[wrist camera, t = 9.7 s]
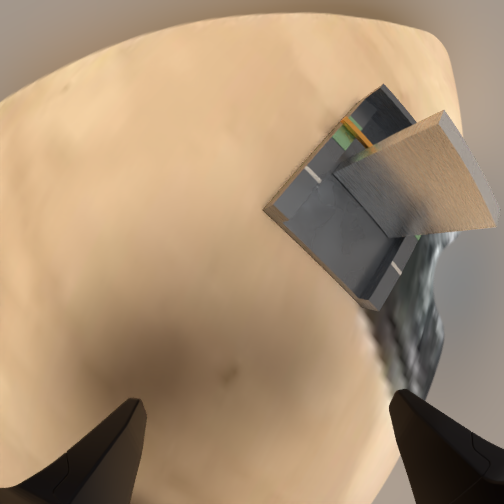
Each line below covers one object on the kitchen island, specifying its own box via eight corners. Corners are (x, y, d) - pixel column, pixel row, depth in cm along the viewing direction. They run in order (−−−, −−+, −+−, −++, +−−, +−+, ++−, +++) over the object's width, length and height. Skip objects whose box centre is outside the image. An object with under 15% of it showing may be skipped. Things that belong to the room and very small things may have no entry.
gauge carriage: (403, 256, 22) (506, 253, 12) (310, 151, 19) (408, 84, 10) (421, 220, 22) (515, 206, 13) (338, 120, 20) (426, 57, 11)
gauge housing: (362, 307, 21) (397, 314, 17) (262, 209, 19) (286, 197, 15) (427, 189, 24) (457, 182, 20) (356, 103, 22) (383, 83, 18)
